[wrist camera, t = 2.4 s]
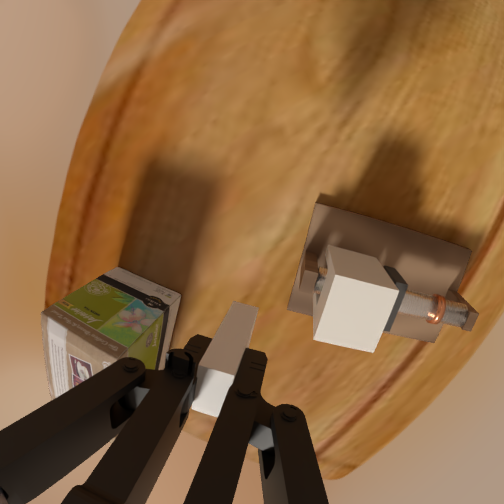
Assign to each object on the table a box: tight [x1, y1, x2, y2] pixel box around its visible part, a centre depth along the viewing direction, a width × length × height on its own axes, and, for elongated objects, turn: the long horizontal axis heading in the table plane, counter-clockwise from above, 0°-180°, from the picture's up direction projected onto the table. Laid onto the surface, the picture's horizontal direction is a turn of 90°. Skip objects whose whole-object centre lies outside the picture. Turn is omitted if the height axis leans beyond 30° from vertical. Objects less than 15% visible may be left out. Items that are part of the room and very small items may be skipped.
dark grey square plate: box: [383, 265, 408, 332], centre depth 27 cm, size 5×1×5 cm, turn 168°
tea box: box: [41, 267, 181, 443], centre depth 33 cm, size 15×10×15 cm, turn 162°
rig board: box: [287, 202, 479, 343], centre depth 29 cm, size 12×19×7 cm, turn 78°
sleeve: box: [313, 245, 399, 353], centre depth 26 cm, size 5×5×9 cm
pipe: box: [313, 266, 468, 327], centre depth 27 cm, size 3×16×3 cm, turn 78°
